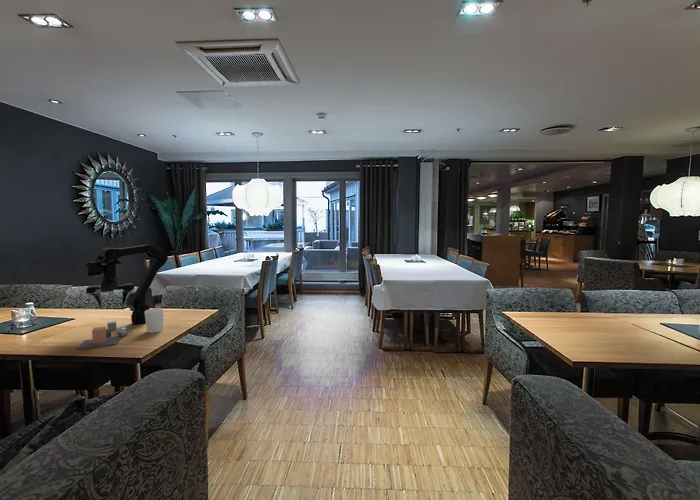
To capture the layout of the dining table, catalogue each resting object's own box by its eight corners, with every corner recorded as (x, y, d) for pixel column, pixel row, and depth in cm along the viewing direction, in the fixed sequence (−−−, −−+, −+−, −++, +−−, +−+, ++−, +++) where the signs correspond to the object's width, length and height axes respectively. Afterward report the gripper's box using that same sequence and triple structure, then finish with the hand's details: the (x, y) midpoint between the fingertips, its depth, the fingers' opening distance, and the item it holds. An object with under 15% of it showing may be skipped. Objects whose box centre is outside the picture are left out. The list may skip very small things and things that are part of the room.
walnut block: (111, 336, 162) (111, 328, 161) (106, 338, 158) (105, 331, 158) (104, 336, 162) (103, 328, 162) (98, 338, 158) (98, 331, 158)
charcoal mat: (121, 337, 160) (121, 336, 160) (115, 345, 151) (115, 343, 151) (84, 341, 155) (84, 340, 155) (76, 349, 146) (76, 348, 145)
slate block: (116, 327, 174) (115, 320, 173) (116, 329, 171) (116, 322, 170) (107, 329, 172) (107, 322, 171) (107, 331, 169) (107, 324, 168)
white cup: (167, 329, 172) (166, 309, 171) (154, 334, 164) (153, 313, 163) (155, 327, 174) (154, 307, 173) (141, 332, 167) (140, 312, 166)
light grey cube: (123, 333, 165) (122, 326, 164) (128, 334, 163) (127, 327, 163) (116, 336, 161) (115, 329, 161) (121, 337, 160) (120, 330, 159)
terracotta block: (106, 339, 155) (105, 326, 155) (103, 342, 152) (102, 329, 151) (95, 340, 154) (94, 327, 153) (92, 344, 150) (91, 330, 149)
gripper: (80, 278, 157) (83, 311, 159) (128, 275, 164) (130, 307, 165) (88, 274, 167) (91, 305, 169) (133, 271, 174) (135, 302, 176)
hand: (112, 305), depth 169 cm, fingers open, 9 cm apart
